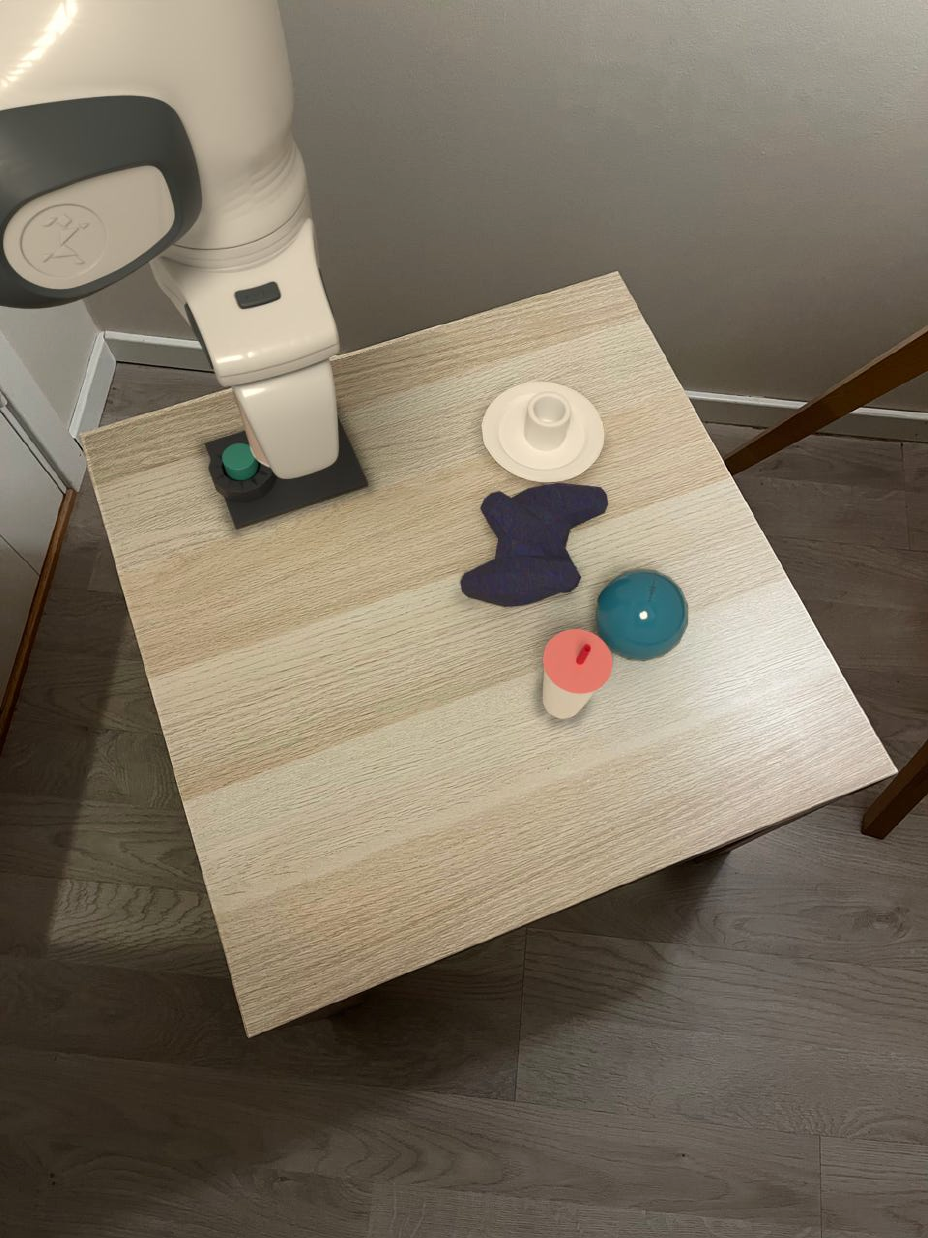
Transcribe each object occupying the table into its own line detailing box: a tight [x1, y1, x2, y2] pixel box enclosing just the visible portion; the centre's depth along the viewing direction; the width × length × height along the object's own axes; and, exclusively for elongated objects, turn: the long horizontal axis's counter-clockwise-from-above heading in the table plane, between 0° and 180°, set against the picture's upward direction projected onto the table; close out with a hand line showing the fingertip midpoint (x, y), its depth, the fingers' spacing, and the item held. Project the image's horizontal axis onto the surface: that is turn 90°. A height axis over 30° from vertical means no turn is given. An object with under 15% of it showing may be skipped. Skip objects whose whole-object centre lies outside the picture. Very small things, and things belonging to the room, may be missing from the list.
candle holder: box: [480, 380, 605, 483], centre depth 87 cm, size 12×12×4 cm
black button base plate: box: [204, 413, 369, 530], centre depth 86 cm, size 13×10×2 cm
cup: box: [542, 628, 613, 720], centre depth 72 cm, size 5×5×12 cm
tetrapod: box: [459, 482, 609, 608], centre depth 78 cm, size 11×12×11 cm
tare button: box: [222, 443, 258, 480], centre depth 83 cm, size 3×3×2 cm
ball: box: [593, 567, 689, 663], centre depth 77 cm, size 8×8×8 cm
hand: (272, 400), depth 60 cm, fingers closed on beer can, 5 cm apart
